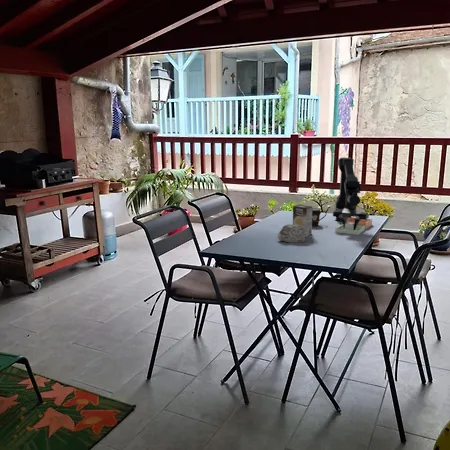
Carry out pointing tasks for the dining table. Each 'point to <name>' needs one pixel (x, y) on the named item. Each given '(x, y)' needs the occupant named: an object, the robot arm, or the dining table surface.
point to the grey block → (349, 226)
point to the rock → (292, 233)
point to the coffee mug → (316, 216)
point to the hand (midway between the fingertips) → (350, 229)
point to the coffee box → (303, 217)
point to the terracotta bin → (361, 222)
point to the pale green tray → (356, 231)
